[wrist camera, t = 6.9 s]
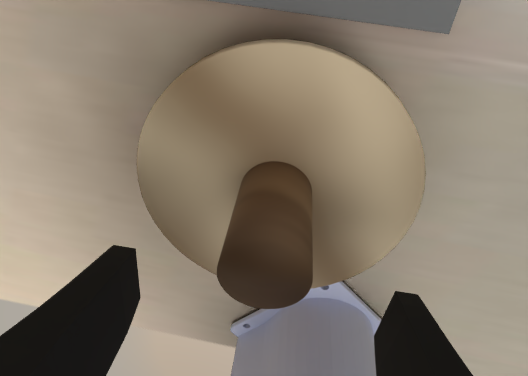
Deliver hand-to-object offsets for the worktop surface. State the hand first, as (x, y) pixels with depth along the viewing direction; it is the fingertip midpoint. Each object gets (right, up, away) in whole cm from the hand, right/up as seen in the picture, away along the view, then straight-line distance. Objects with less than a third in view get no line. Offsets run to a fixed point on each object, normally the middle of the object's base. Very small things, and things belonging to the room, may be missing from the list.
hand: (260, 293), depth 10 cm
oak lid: (+1, +3, +5) cm, 6 cm away
